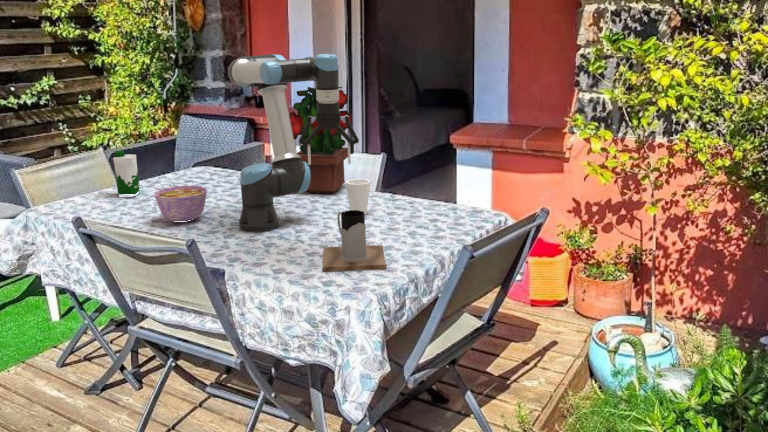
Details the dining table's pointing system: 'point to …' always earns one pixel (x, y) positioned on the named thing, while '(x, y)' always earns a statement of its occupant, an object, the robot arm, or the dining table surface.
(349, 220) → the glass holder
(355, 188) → the foam cup
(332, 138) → the potted plant
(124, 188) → the mojito glass
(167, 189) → the bowl of food
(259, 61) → the robot arm
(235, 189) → the dining table surface
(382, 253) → the walnut board
